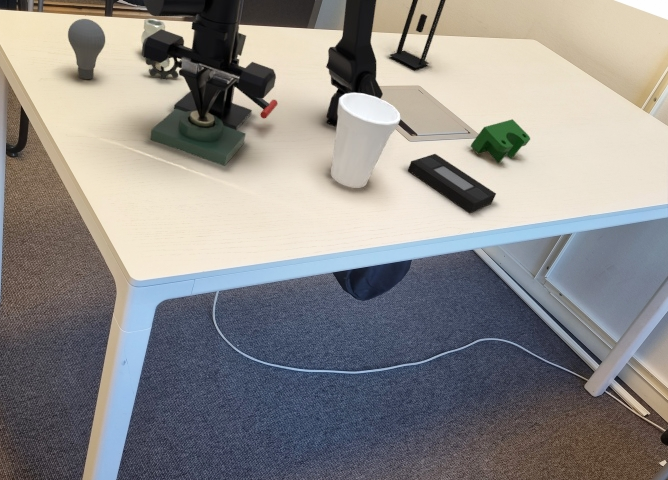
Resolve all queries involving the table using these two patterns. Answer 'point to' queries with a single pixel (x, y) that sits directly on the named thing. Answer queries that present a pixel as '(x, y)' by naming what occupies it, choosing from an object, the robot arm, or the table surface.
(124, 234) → the table surface
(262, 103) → the lever
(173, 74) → the valve
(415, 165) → the vhs tape
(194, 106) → the bracket
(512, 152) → the clamp
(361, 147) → the cup
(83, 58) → the light bulb
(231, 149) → the button box
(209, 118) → the button
